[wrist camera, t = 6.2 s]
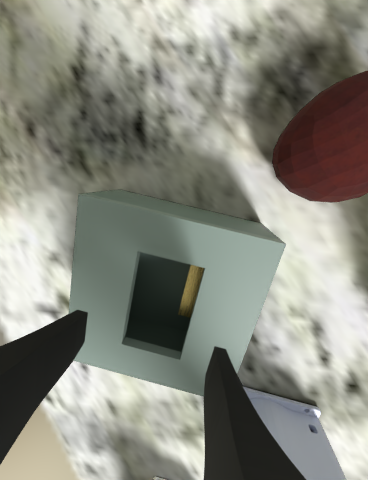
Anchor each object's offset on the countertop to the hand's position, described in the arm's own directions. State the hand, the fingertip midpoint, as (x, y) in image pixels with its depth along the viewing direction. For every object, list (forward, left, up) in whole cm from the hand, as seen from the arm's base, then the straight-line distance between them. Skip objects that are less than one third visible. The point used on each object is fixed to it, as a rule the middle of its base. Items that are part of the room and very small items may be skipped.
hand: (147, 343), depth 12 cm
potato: (-9, -13, -10) cm, 19 cm away
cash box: (0, 0, -10) cm, 10 cm away
